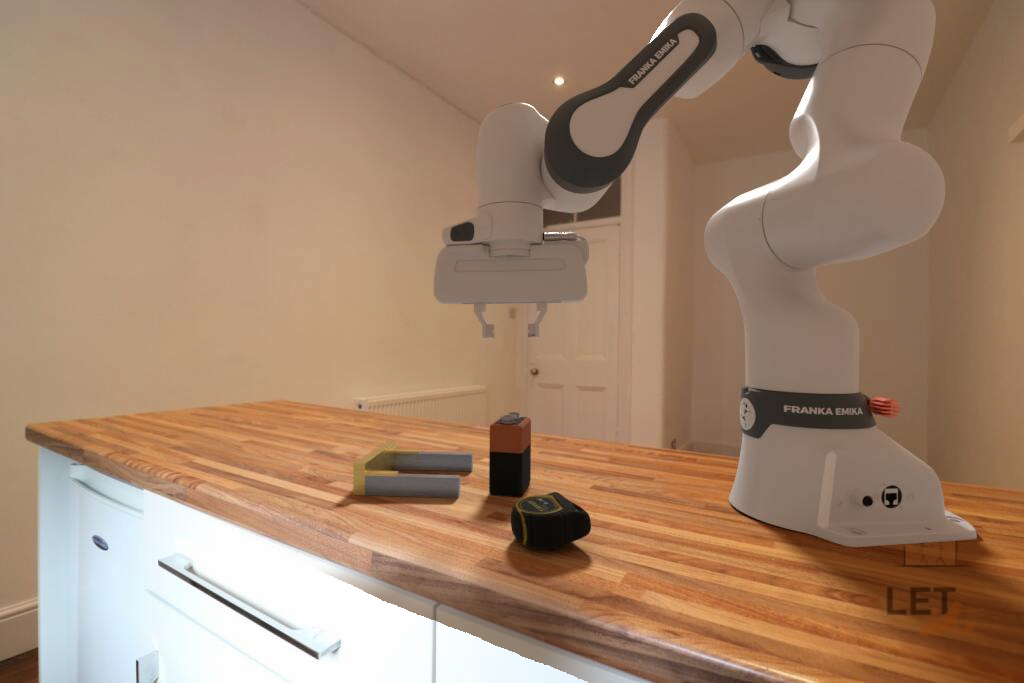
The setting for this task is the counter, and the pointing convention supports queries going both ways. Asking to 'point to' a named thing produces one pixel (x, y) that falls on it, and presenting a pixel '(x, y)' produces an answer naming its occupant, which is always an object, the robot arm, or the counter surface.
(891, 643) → the counter surface
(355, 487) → the yellow grey u-shaped bracket
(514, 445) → the battery
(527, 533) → the tape measure
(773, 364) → the robot arm
